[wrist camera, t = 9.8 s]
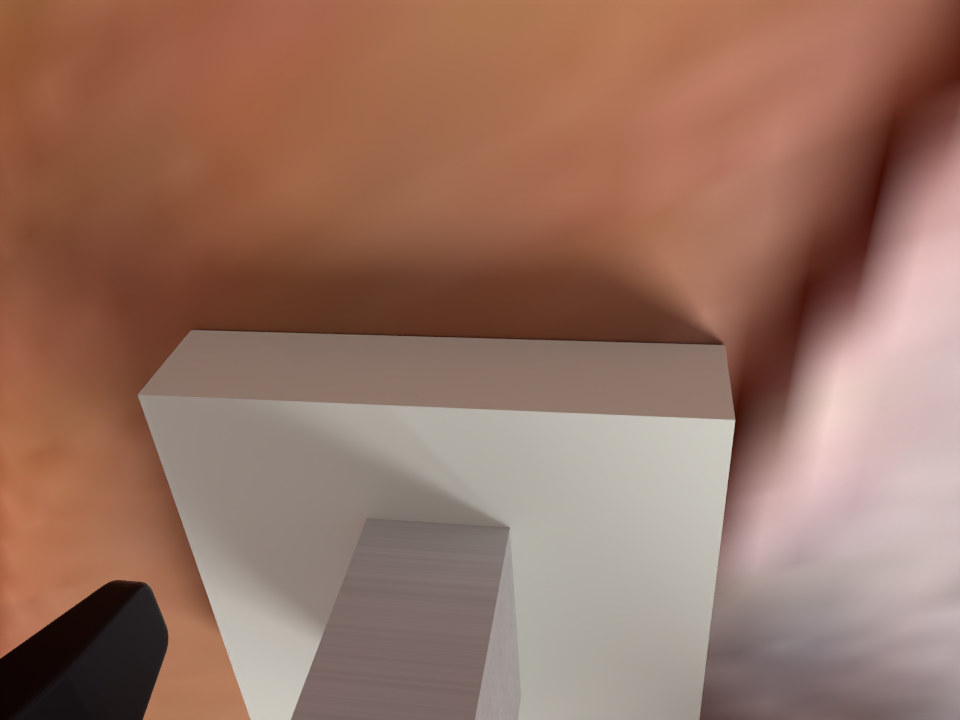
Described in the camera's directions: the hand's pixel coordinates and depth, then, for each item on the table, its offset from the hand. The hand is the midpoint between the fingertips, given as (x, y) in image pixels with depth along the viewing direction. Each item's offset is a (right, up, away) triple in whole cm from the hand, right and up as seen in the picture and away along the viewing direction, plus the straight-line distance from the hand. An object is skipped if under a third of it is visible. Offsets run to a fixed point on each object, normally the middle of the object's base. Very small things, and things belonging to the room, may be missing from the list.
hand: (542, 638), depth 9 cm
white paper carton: (-1, -4, +15) cm, 15 cm away
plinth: (-1, -2, +17) cm, 17 cm away
